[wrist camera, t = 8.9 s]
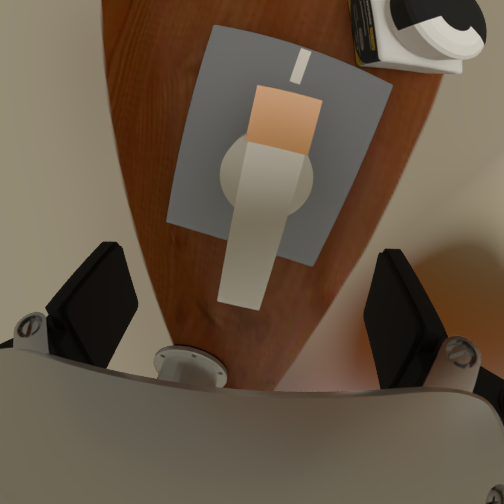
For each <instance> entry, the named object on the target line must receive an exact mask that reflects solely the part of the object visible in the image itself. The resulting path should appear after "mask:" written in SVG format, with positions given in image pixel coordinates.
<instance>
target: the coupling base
mask: <svg viewBox="0 0 504 504" xmlns="http://www.w3.org/2000/svg"><path fill="white" fill-rule="evenodd" d="M257 85H264V86H268V87H273V88H277V89H282V90H286V91H290V92H294V93H298V94H302V95H306V96H310V97H313V98H316V99H319V100H322V105H321V109H320V113H319V116H318V120H317V124H316V128H315V131H314V135H313V139H312V142H311V146H310V149H309V153H308V157H309V159H310V162H311V165H312V169H313V185H312V189H311V192H310V195H309V196H308V198H307V200H306V201H305V203H304V204H303V205H302V206H301V207H300V208H299V209H298V210H297V211H295V212H294V213H292V214H290V215H288V217H287V220H286V224H285V227H284V230H283V234H282V237H281V240H280V244H279V247H278V251H277V254H276V256H280V257H283V258H286V259H289V260H293V261H296V262H299V263H302V264H306V265H309V266H312V267H313V265H314V263H315V261H316V259H317V257H318V255H319V253H320V251H321V249H322V247H323V245H324V243H325V241H326V239H327V237H328V235H329V233H330V231H331V229H332V227H333V225H334V223H335V221H336V219H337V216H338V214H339V212H340V210H341V208H342V206H343V204H344V201H345V199H346V197H347V195H348V193H349V191H350V188H351V186H352V184H353V182H354V179H355V177H356V175H357V173H358V170H359V168H360V166H361V164H362V161H363V159H364V157H365V154H366V152H367V150H368V147H369V145H370V142H371V140H372V138H373V135H374V133H375V130H376V128H377V125H378V123H379V120H380V118H381V115H382V113H383V110H384V108H385V105H386V103H387V100H388V97H389V95H390V92H391V89H392V87H393V85H392V84H390V83H388V82H386V81H384V80H382V79H380V78H378V77H376V76H374V75H372V74H369V73H367V72H365V71H363V70H361V69H359V68H356V67H354V66H352V65H349V64H347V63H345V62H342V61H340V60H337V59H335V58H332V57H330V56H327V55H325V54H322V53H319V52H316V51H314V50H311V49H308V48H305V47H302V46H299V45H296V44H293V43H289V42H286V41H283V40H279V39H276V38H272V37H269V36H265V35H261V34H257V33H253V32H249V31H244V30H240V29H235V28H230V27H225V26H219V25H214V27H213V29H212V32H211V35H210V39H209V42H208V45H207V48H206V51H205V54H204V58H203V61H202V64H201V68H200V71H199V74H198V78H197V82H196V85H195V89H194V92H193V96H192V100H191V104H190V108H189V112H188V116H187V120H186V124H185V128H184V132H183V137H182V141H181V146H180V150H179V155H178V160H177V165H176V170H175V175H174V180H173V185H172V191H171V196H170V202H169V208H168V214H167V220H166V222H168V223H171V224H175V225H178V226H181V227H185V228H188V229H191V230H194V231H198V232H201V233H204V234H208V235H211V236H214V237H217V238H221V239H224V240H227V241H228V238H229V233H230V227H231V222H232V217H233V212H234V207H233V206H232V205H231V203H230V202H229V201H228V200H227V198H226V196H225V195H224V192H223V190H222V187H221V183H220V167H221V163H222V161H223V158H224V156H225V154H226V153H227V151H228V150H229V149H230V147H231V146H232V145H233V144H234V142H235V141H236V140H237V139H238V138H239V137H240V136H241V135H242V134H244V133H245V132H247V130H248V125H249V121H250V116H251V111H252V107H253V102H254V98H255V93H256V89H257Z"/></svg>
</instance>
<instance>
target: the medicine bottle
mask: <svg viewBox="0 0 504 504" xmlns="http://www.w3.org/2000/svg"><path fill="white" fill-rule="evenodd" d="M348 5H349V11H350V17H351V24H352V31H353V39H354V47H355V56H356V63H357V65H358V66H361V67H376V68H387V69H397V70H405V71H412V72H419V73H441V74H461V73H462V70H463V68H462V59H471V58H473V57H475V56H477V55H478V54H479V53H480V52H481V51H482V49H483V47H484V45H485V42H486V23H485V19H484V16H483V13H482V11H481V9H480V7H479V5H478V4H477V2H476V1H475V0H348Z"/></svg>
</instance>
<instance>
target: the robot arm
mask: <svg viewBox="0 0 504 504" xmlns="http://www.w3.org/2000/svg"><path fill="white" fill-rule="evenodd" d="M45 308H46V310H47V312H48V314H49V315H48V316H47V318H46V317H45V315H44V314H43V313H40V312H34V313H30V314H28V315H26V316H25V317H23V318H22V319H21V320H20V321H19V322H18V323H17V325H16V327H15V329H14V338H12V339H10V340H8V341H6V342H4V343H2V344H0V504H504V380H503V379H501V378H500V377H498V376H496V375H495V374H493V373H491V372H490V371H488V370H486V369H485V368H483V367H481V366H480V364H481V355H480V351H479V350H478V348H477V346H476V345H475V344H474V343H473V342H472V341H470V340H469V339H467V338H465V337H462V336H450V337H448V336H447V334H446V332H445V329H444V326H443V324H442V322H441V320H440V318H439V316H438V314H437V312H436V310H435V308H434V307H433V305H432V303H431V301H430V299H429V297H428V295H427V293H426V292H425V290H424V288H423V286H422V284H421V283H420V281H419V279H418V277H417V276H416V274H415V272H414V271H413V269H412V267H411V265H410V264H409V262H408V261H407V259H406V257H405V256H404V254H403V253H402V251H401V250H400V249H385V250H384V251H383V253H379V255H378V258H377V263H376V267H375V271H374V275H373V279H372V283H371V287H370V291H369V294H368V298H367V302H366V306H365V309H364V322H365V326H366V330H367V333H368V337H369V341H370V345H371V349H372V353H373V357H374V362H375V366H376V370H377V374H378V379H379V384H380V388H381V389H380V390H364V391H341V392H340V391H339V392H338V391H337V392H280V391H258V390H243V389H230V388H222V387H223V386H224V385H225V384H226V382H227V377H228V373H227V370H226V368H225V366H224V365H223V364H222V363H221V362H220V361H219V360H218V359H216V358H215V357H214V356H212V355H210V354H208V353H206V352H204V351H202V350H199V349H196V348H192V347H187V346H168V347H165V348H162V349H160V350H159V351H158V352H157V353H156V355H155V358H154V366H155V368H156V370H157V372H158V373H159V375H158V378H157V379H154V378H148V377H143V376H137V375H132V374H127V373H123V372H118V371H114V370H109V369H106V368H107V366H108V364H109V362H110V360H111V358H112V356H113V354H114V352H115V350H116V348H117V346H118V344H119V342H120V340H121V339H122V337H123V335H124V333H125V331H126V329H127V327H128V325H129V324H130V322H131V320H132V318H133V316H134V314H135V312H136V311H137V308H138V300H137V296H136V293H135V290H134V286H133V283H132V280H131V277H130V273H129V270H128V266H127V262H126V259H125V255H124V252H123V248H122V247H121V246H119V244H118V243H117V242H102V243H101V244H100V245H99V246H98V247H97V248H96V249H95V250H94V251H93V252H92V253H91V255H90V256H89V257H88V258H87V259H86V260H85V261H84V262H83V263H82V265H81V266H80V267H79V268H78V269H77V270H76V271H75V272H74V273H73V275H72V276H71V277H70V278H69V279H68V280H67V282H66V283H65V284H64V285H63V286H62V288H61V289H60V290H59V291H58V292H57V293H56V295H55V296H54V297H53V298H52V300H51V301H50V302H49V303H48V305H47V306H46V307H45Z"/></svg>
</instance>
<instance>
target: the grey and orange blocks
mask: <svg viewBox="0 0 504 504" xmlns="http://www.w3.org/2000/svg"><path fill="white" fill-rule="evenodd" d="M321 105H322V100H319V99H316V98H313V97H310V96H306V95H302V94H298V93H294V92H290V91H286V90H282V89H277V88H273V87H268V86H264V85H257V89H256V93H255V98H254V102H253V107H252V111H251V116H250V121H249V125H248V130H247V132H245V133H244V134H242V135H241V136H240V137H239V138H238V139H237V140H236V141H235V142H234V144H233V145H232V146H231V147H230V149H229V150H228V151H227V153H226V154H225V156H224V158H223V161H222V163H221V167H220V183H221V187H222V190H223V192H224V195H225V196H226V198H227V200H228V201H229V202H230V203H231V205H232V206H233V207H234V212H233V217H232V222H231V227H230V233H229V238H228V243H227V249H226V254H225V260H224V265H223V271H222V276H221V282H220V287H219V293H218V299H217V301H218V302H222V303H227V304H231V305H236V306H240V307H245V308H250V309H254V310H259V309H260V306H261V303H262V300H263V296H264V293H265V290H266V287H267V283H268V280H269V277H270V274H271V270H272V267H273V264H274V260H275V257H276V254H277V251H278V247H279V244H280V240H281V237H282V234H283V230H284V227H285V224H286V220H287V217H288V215H290V214H292V213H294V212H295V211H297V210H298V209H299V208H300V207H301V206H302V205H303V204H304V203H305V201H306V200H307V198H308V196H309V195H310V192H311V189H312V185H313V169H312V165H311V162H310V159H309V157H308V153H309V149H310V146H311V142H312V139H313V135H314V131H315V128H316V124H317V120H318V116H319V113H320V109H321Z"/></svg>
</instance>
